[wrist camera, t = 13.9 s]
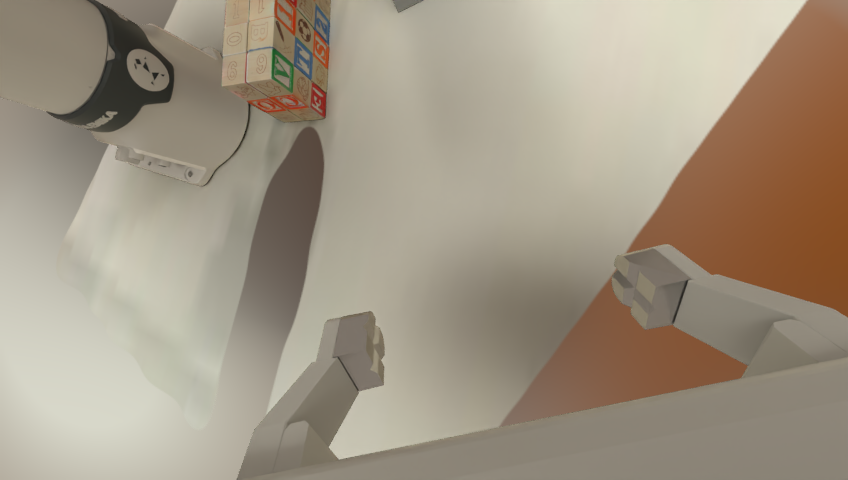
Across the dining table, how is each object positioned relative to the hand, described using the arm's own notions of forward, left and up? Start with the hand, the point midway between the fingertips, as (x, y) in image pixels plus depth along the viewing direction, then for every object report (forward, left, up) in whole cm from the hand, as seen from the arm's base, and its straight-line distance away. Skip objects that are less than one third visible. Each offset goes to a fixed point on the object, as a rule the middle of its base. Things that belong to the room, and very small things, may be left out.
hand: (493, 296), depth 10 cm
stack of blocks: (-26, +26, -22) cm, 43 cm away
